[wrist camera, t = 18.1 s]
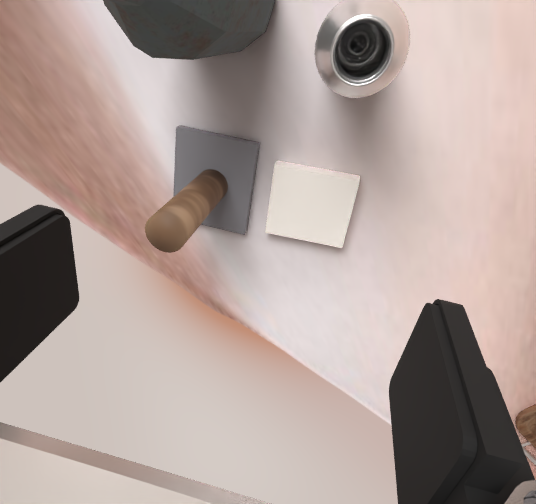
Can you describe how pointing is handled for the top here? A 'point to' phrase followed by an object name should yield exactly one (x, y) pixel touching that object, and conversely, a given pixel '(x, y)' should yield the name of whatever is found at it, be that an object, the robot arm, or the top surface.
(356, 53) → the plastic bottle
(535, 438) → the chopping board
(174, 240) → the dowel
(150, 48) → the bottle
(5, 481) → the robot arm
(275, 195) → the tile
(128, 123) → the top surface
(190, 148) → the mat
